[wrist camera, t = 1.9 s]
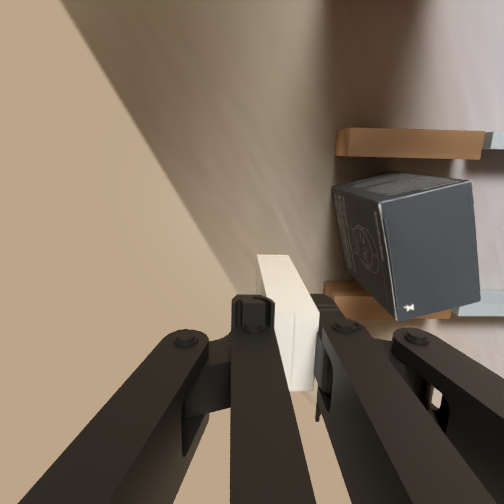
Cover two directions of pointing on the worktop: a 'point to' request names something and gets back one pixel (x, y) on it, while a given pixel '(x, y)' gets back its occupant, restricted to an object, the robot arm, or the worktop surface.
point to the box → (410, 241)
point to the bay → (490, 299)
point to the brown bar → (402, 146)
